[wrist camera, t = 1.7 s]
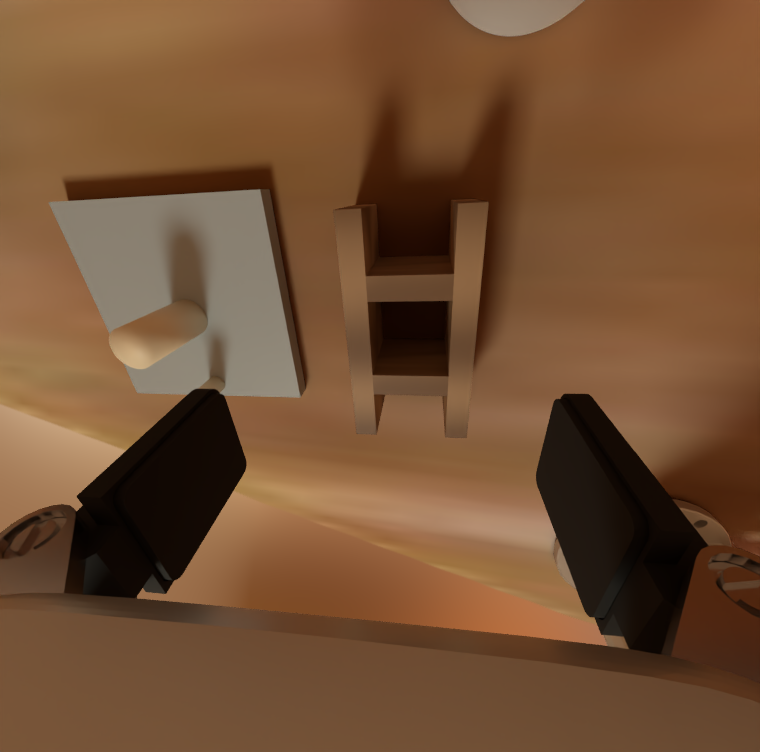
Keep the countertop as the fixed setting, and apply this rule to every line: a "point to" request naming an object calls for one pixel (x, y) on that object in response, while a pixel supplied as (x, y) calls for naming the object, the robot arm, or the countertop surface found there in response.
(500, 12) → the pill bottle
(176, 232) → the base
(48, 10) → the countertop surface
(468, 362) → the wooden h-shaped stand
